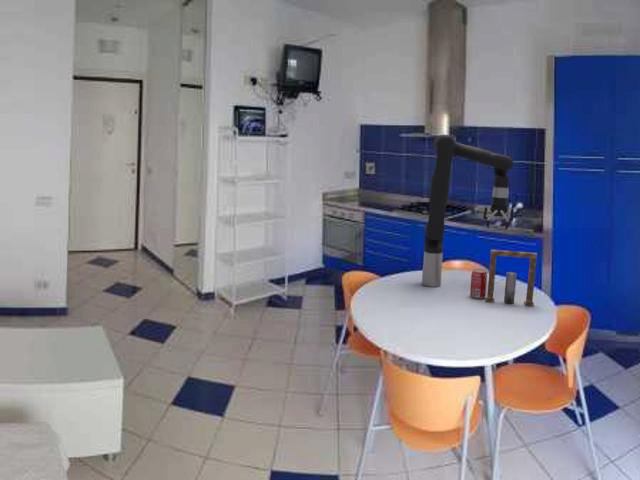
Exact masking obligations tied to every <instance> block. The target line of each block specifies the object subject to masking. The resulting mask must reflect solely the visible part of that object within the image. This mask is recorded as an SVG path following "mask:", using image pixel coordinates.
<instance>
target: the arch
mask: <svg viewBox="0 0 640 480" xmlns="http://www.w3.org/2000/svg"><path fill="white" fill-rule="evenodd" d="M497 256H498V257H508V258H509V257H510V258H521V259H524V258H526V259H529V265H528V266H529V267H528V278H527V287H526V298H525V300H524V301H523V305H525V306H524V307H531V306H534V307H535V304H534V301H533V298H534V288H535V279H536V269H537V258H538V253H537V252H528V251H527V252H526V251H517V250H501V249H490V257H489V259H490V261H489V271H488V272H489V273H488V280H487V282H488V285H487V293H486V295H487V296H485V297H484V302H485V303H495V297H494V290H495V279H496V267H497Z"/></svg>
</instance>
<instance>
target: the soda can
mask: <svg viewBox="0 0 640 480" xmlns="http://www.w3.org/2000/svg"><path fill="white" fill-rule="evenodd" d="M487 282H488V274H487V270H485V269H481V268H475V269H472V272H471V274H470V290H469V291H470V293H469V296H470V297H472V298H473V299H477V300H482V299H485V297H487V296H486V295H487V286H488V285H487Z"/></svg>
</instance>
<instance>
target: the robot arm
mask: <svg viewBox="0 0 640 480" xmlns="http://www.w3.org/2000/svg"><path fill="white" fill-rule="evenodd" d="M432 148H433V150H434V152H436V161H435V162H436V163H435V167H434V170H433V173H432V176H431V179H430V185H429V186H430V187H429V199H428V200H429V213H428V214H429V215H428V219H427V223H426V224H425V229H424V242H423V243H424V246H423V266H422V275H421V276H422V277H421V285H422V286H427V287H429V288H430V287H433V288H435V287H440V286H441V284H442V272H443V271H442V269H443V256H444V254H443V253H444V252H443V251H444V234H445V215H446V214H445V212H446V208H447V204H448V198H449V193H450V184H451V183H450V181H451V174H452V173H451V169H452V163H453V157H454V156H456V157H460V158H463V159H465V160H468V161H471V162H473V163H478V164H480V165H484V166H490V167H493V175H494V182H493V183H494V184H493V189H492V194H491V195H492V197H491V206H490V207H488V206H484V209H483V215H482V218H483V220H486V224H485V226H486V228H488V229H489V228H490V221H491V219H492V218H493V217H500V218H502V217H503V218H504V219H505V225H504V226H505V227H504V229H505V230H508V228H509V226H510V225H509V224H510V222H513V221H514V211H515V210H514V208H508V201H509V190H510V189H509V188H510V187H509V185H510V177H509V175H508V171H509V170H511V169H512V168H513V167H514V160H513V159H512V158H511V156H507V155H504V154H500V153H495V152H493V151H490V150H487V149H484V148H481V147H476V146H472V145H467V144H463V143H461V142H458V141H456V140H455V139H454V138H453V136H451V135H447V134H441V135H438V136H437V137H435V138H434V140H433V142H432ZM489 211H490V214H489V215H488V214H487V212H489ZM507 212H508V213H509V214H510V218H509V217H508V216H507ZM487 215H488V216H487Z"/></svg>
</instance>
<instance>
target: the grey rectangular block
mask: <svg viewBox="0 0 640 480" xmlns="http://www.w3.org/2000/svg"><path fill="white" fill-rule="evenodd" d="M516 286H517V273H516V272H513V271H506V275H505V285H504V287H505V288H504V297H503V303H504V304H507V305H514V304H515V298H516V297H515V295H516Z"/></svg>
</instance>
